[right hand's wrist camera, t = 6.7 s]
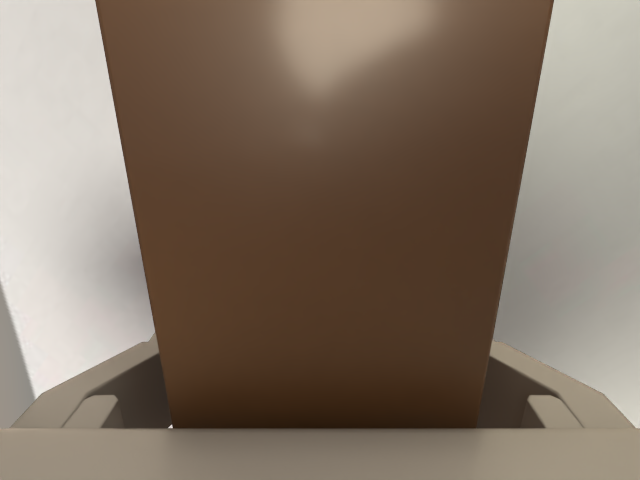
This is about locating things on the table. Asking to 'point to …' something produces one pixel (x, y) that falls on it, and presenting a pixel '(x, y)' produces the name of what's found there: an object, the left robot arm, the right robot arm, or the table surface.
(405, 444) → the right robot arm
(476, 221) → the beam
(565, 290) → the table surface
